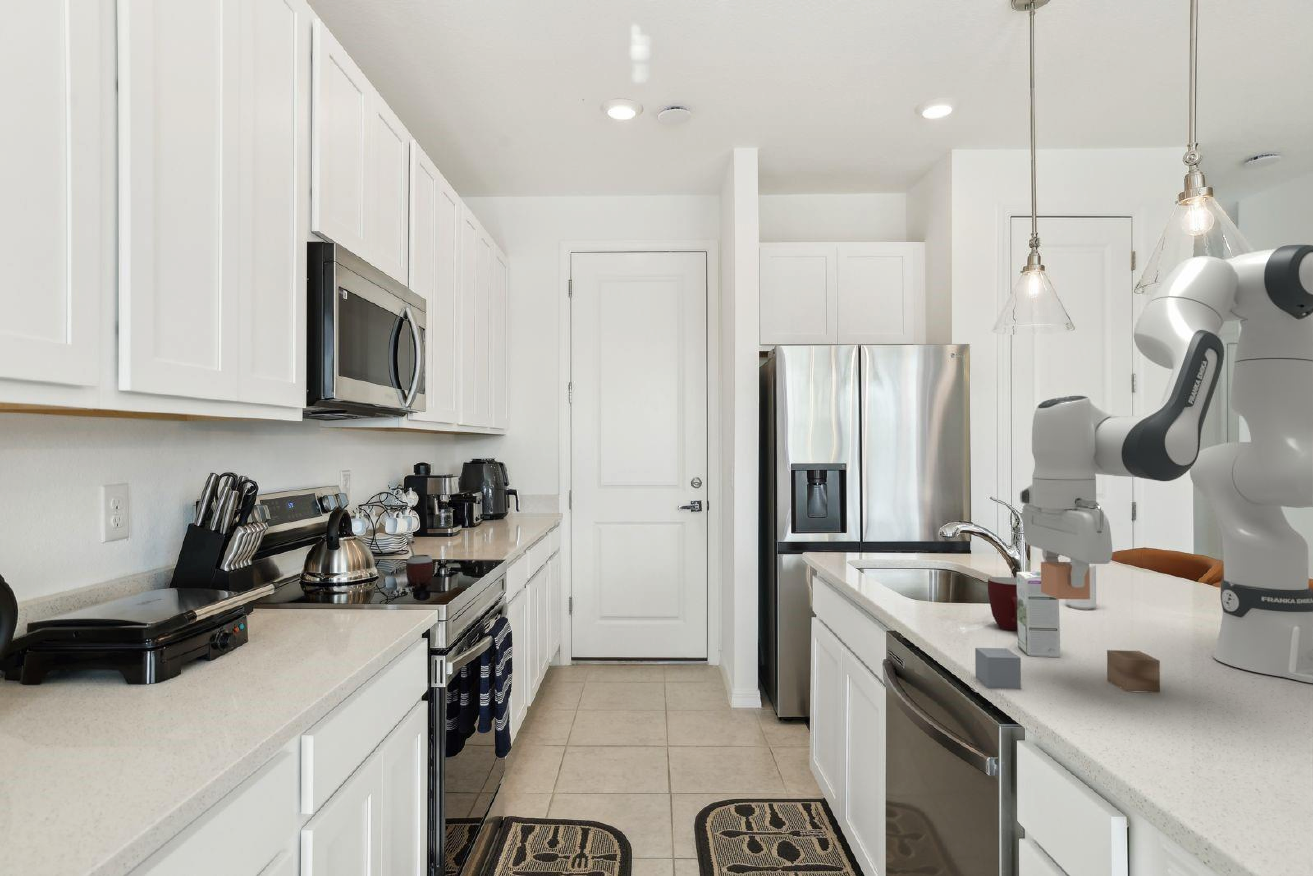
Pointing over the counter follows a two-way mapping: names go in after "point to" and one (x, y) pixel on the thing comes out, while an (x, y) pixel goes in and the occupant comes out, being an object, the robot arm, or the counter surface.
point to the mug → (1004, 601)
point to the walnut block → (1133, 670)
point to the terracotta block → (1062, 581)
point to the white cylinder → (1091, 602)
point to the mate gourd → (418, 568)
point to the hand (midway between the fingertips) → (1065, 582)
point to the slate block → (998, 668)
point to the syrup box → (1037, 617)
